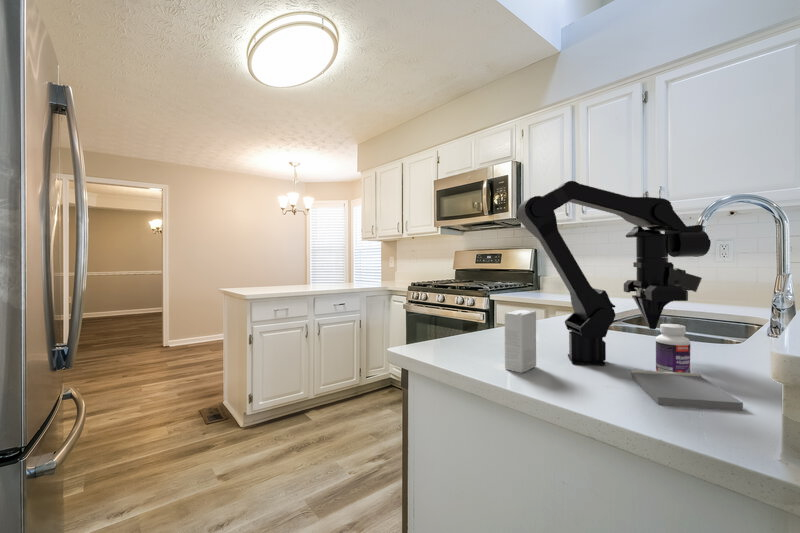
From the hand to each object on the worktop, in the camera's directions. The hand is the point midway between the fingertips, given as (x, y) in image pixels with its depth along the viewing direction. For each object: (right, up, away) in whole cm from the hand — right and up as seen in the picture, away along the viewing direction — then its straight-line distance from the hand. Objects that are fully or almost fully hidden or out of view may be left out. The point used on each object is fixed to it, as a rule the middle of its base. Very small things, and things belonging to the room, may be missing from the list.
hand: (652, 328), depth 81 cm
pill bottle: (-3, -8, -10) cm, 12 cm away
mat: (-8, -8, -18) cm, 21 cm away
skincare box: (-30, -8, -3) cm, 31 cm away
